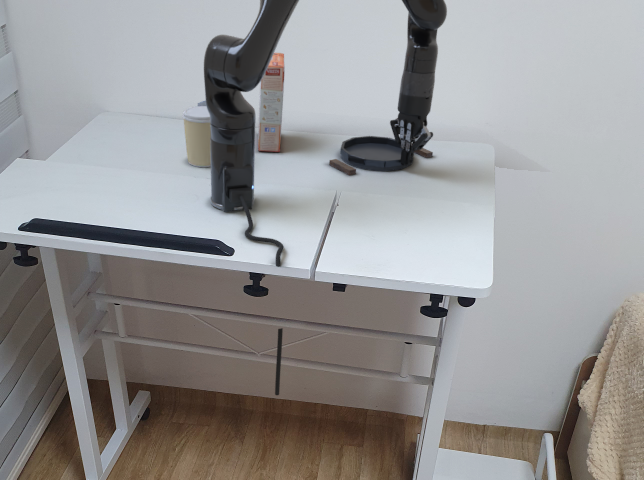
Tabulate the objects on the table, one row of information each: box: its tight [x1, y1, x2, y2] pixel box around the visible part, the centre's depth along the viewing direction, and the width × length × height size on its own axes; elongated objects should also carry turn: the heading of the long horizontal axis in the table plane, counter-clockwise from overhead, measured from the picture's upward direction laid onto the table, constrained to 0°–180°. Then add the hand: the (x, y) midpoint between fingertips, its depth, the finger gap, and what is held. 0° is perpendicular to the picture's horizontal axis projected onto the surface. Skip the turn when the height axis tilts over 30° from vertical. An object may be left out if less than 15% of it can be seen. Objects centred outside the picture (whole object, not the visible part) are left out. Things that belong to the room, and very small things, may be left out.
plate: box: [339, 135, 409, 172], centre depth 181 cm, size 18×18×3 cm
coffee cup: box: [182, 105, 211, 168], centre depth 173 cm, size 9×9×12 cm
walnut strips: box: [328, 147, 434, 176], centre depth 180 cm, size 8×27×1 cm, turn 123°
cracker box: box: [257, 52, 286, 153], centre depth 182 cm, size 14×6×21 cm, turn 179°
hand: (406, 165), depth 174 cm, fingers closed
